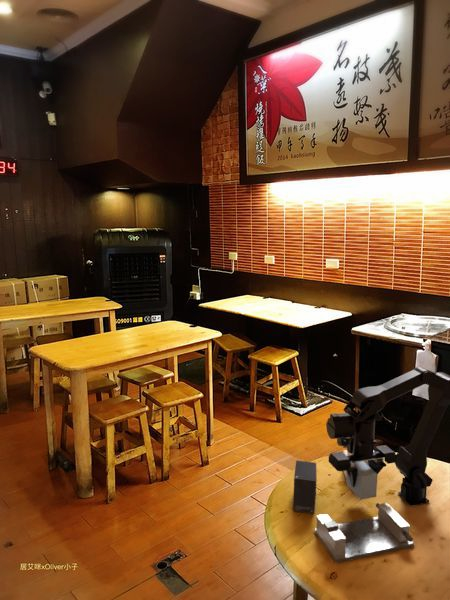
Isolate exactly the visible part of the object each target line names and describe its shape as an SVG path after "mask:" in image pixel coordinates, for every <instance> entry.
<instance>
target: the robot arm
mask: <svg viewBox="0 0 450 600" xmlns="http://www.w3.org/2000/svg"><path fill="white" fill-rule="evenodd" d="M423 385H428V387H427V395H428V401H427V403H426V406H425V408H424V410H423V413H422V414H421V416H420V419H419V421H418V424H417V426H416V428H415V431H414V433H413V435H412V438H411V440H410V442H409V443H408V444H407V445H405V446H404V447H403V446H402V445H401V446H399V447H398V449H397V450H398V451H397V452H395V451H394V450H392V449H391V448H390V447H389V446H388V445H386V444H384V445H377V443H378V441H377V440H376V439H375V429H376V428H375V427H376V421H382V420H384V419H383V417H382V416H381V415H380V414H379V412H380V411H381V410H383V409H384V407H386V405H387V403H388V402H390V401H392V400H394V399H396V398H398V397H400V396H403V395H405V394H407V393H409V392H411V391H413V390H415V389H417V388H420V387H422V386H423ZM449 406H450V375H449V374H447V373H445V372H443V371H442V372H441V371H439V372H434V371H433V370H429V369H427V368H425V367H422V366H415V367H414V368H413V369H412V370H410V371H408V372H405V373H403V374H402V375H400V376H398V377H395V378H393V379H391V380H389V381H387V382H384V383H383V384H379V385H376V386H375V385H374V386H366V387H362V388H359V389H357V390H355V391H354V392H353V393H352V396H351V398H350V400H349V401H348V403H346V405H345V406H344V408H343V409H342V410H343V411H344V413H343V412H342V413H330V415H329V417H328V418H327V420H326V423H325V425H326V432H327V435H328V437H329V438H330V439H331V440H336V444H337V446H340V447H343V449H345V448H346V449H347V448H348V451H349V452H352V455H350V456H346V455H345V454H344V453H343V451H337V452H331V453H330V454H329V455H328V463H329V464H330V465H331V466H332V467H333V468H334V469H335V470H336V471H337V472H343V471H347V474H348V477H349V480H350V483H351V485H352V487H355V483H356V477H357V471H358V470H357V469H356V468H355V462H361V461H368V464H369V467H370V468H372V469H373V470H374V471H375V472H376V473H377V474H379V473H380V472H381V471H382V470H383V468H385V467H386V466H387V464H388V465H389V464H393V463H394V464H395V468H396V469H397V470H398V472H399V473H400V474H401V475H403V476H404V477H402V480H401V481H402V483H401V484H400V491H398V493H397V495H398V496H400V497H401V498H402V499H403V500H404V501H405V502H406V503H407V504H408V505H409V506H411V507H413V506H418V505H424V504H429V503H430V500H429V499H428V498H427V490H428V489H427V488H428V487H431V485H432V483H433V481H434V480H433V478H431V477H430V476H429V475H428V474H427V473H426V470H427V466H428V458H427V452H428V449H429V448H430V445H431V443H432V440H433V438H434V435H435V434H436V431H437V429H438V427H439V425H440V422H441V420H442V419H443V418H442V417H443V416H444V413H445V411H446V409H447V408H448V407H449ZM355 409H357V410H358V411H359V412H357V410H355Z"/></svg>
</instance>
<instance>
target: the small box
mask: <svg viewBox="0 0 450 600" xmlns="http://www.w3.org/2000/svg"><path fill="white" fill-rule="evenodd" d="M293 476H294V477H293V499H292V500H293V501H292V511H293V512H299V513H306V514H315V509H316V508H315V507H316V499H317V477H318V476H317V462H315V461H314V462H311V461H305V460H304V461H303V460H299V459H298V460H295V467H294V475H293Z"/></svg>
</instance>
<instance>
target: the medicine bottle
mask: <svg viewBox="0 0 450 600" xmlns="http://www.w3.org/2000/svg"><path fill="white" fill-rule="evenodd" d="M342 452H343V453H344V454H345V455H346V456H350V455H352V452H349V451H348V448H346V449H343V450H342ZM364 462H365V463H366V464H367V465H368V466H369V464H368V461H364ZM342 473H343V475H344V476H345V479H346V478H347V471H342Z"/></svg>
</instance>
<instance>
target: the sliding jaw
mask: <svg viewBox="0 0 450 600" xmlns="http://www.w3.org/2000/svg"><path fill="white" fill-rule="evenodd" d="M375 508H376V509H378V510H377V511H378V512H377V513H378V514H377V517H378V519H379V520H380V521H381V523H382V524H383V525H384V526H385V527H386V528H387V529H388V530H389V531H390V532H391V533H392V534H393V535H394V537H395V538H396V539H397V540H398V541H399V542H405V541H409V542H411V541H413V540H414V538H413V537H412V536H411V535H410V527H411V526H410V524H409V523H408V522H407V521H406V520H405V519H404V518H403V517H402V516H401V515H400V514H399V513H398V512H397V511H396V510H395V509H394V508H393V507H392V506H391V505H390V504H389V503H388V502H384V503H379V502H378V503H376V504H375Z"/></svg>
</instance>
